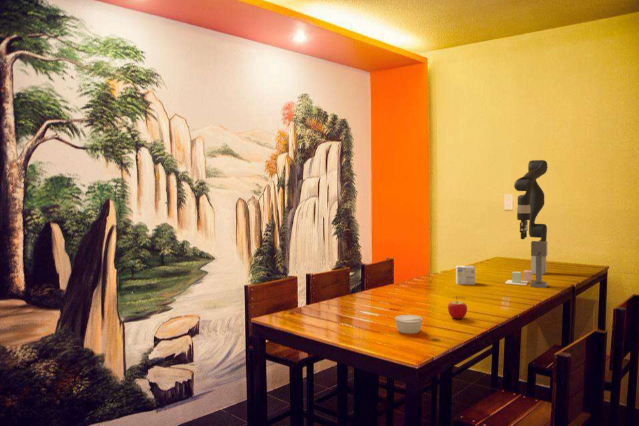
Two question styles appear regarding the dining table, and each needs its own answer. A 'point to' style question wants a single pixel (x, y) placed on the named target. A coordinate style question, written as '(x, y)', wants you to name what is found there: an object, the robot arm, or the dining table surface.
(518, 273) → the pale green rectangular block
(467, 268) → the light bulb box
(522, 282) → the plate
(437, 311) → the dining table surface
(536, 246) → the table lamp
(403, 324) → the ramekin
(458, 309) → the apple
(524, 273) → the block
